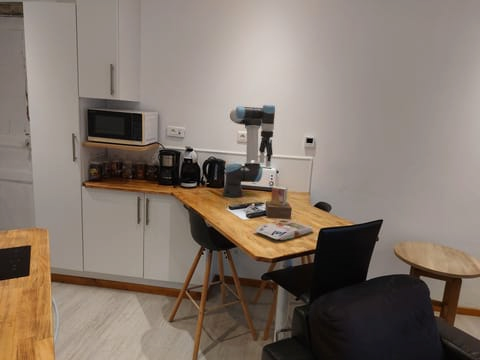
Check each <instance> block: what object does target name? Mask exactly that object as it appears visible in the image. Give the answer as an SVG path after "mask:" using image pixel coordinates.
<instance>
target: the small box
mask: <svg viewBox="0 0 480 360" xmlns="http://www.w3.org/2000/svg"><path fill="white" fill-rule="evenodd" d="M287 196H288V187H283V186H277V185H275V186H273V187H272V189H271V200H270V201H271V204H274V205H279V206H284V205H286V202H287Z"/></svg>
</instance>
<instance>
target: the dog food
mask: <svg viewBox="0 0 480 360" xmlns="http://www.w3.org/2000/svg"><path fill="white" fill-rule="evenodd" d="M313 230H315V227H311V226H310V225H309V226H308V225H306V224H303V223H299V222H297V221H294V220H290V219H281V220H275V221H270V222H268V223H265V224H262V225H259V226H258V227H256V228H255V229H253V231H254V232H255V233H256V232H257V233H260V234H262V235H264V236H267V237H269V238H272V239H274V240H280V241H285V240H290V239H294V238H298V237H301V236H304V235H305V234H308V233H310V232H311V231H313Z"/></svg>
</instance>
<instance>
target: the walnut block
mask: <svg viewBox="0 0 480 360" xmlns="http://www.w3.org/2000/svg"><path fill="white" fill-rule="evenodd" d="M264 210H266V212H265V215H267V216H266V218H267V219H281V220H291V219H292V211H293V209H292V206H291V205H290V203H289V202H287V201H286V205H284V206H279V205H274V204H271V200H270V201H265V208H264Z"/></svg>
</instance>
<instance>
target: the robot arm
mask: <svg viewBox="0 0 480 360" xmlns="http://www.w3.org/2000/svg"><path fill="white" fill-rule="evenodd" d="M275 113H276V107H275V105H271V104H269V105H268V104H264V105H262V107H250V106H237V107H236V108H234V109H232V110H231V111H230V114H229V118H230V120H231V121H232V122H233V123H235V124H236V125H237V124H238V125H244V128H245V129H246V162H244V165H243V164H242V163H229V164H227V165H226V166H225V180H224V181H225V182H224V184H225V185H224V187H223V189H222V193H221V194H222V196H223V197H226V198H234V199H235V198H242V197H243V196H244V195H243V194H244V193H243V192H244V191H243V188H242V183H243V182H244V183H258V182H260V181H261V179H262V176H263V166H261V164H264V162H265V168H268V167H269V168H270V167H271V161H272V156H273V139H271V138H273V137H274V127H275ZM259 129H261V131H260V137H261V138H260V139H261V140H260V144H259ZM265 154H266V155H265ZM265 156H266V157H265Z"/></svg>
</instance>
